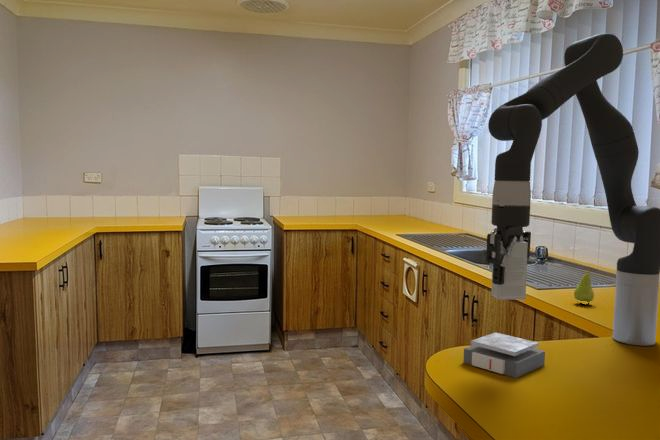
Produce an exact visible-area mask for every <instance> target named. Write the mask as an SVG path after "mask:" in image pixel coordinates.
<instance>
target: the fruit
mask: <svg viewBox="0 0 660 440" xmlns="http://www.w3.org/2000/svg"><path fill="white" fill-rule="evenodd" d="M592 270H593V268H592V267H591V268H590V269H589V270H588V272H587V273H584V275H583V276H582V277H581V278H580V281H579V283H578V285H576V287H575V290H574V292H573V296H574V299H575V300H576V299H577V300H580V301H587V302H590V301H592V302H593V300H594V297H595V292H594V290H593V288H592V282H591V278H590V274H591V272H592ZM577 300H576V301H577Z"/></svg>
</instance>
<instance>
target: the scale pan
mask: <svg viewBox="0 0 660 440" xmlns="http://www.w3.org/2000/svg"><path fill="white" fill-rule="evenodd" d="M470 345H471V346H473V345H475V346H479V347H483V348H486V349H490V350H494V351H498V352H501V353H505V354H509V355H512V356H516V355H519V354H521V353H524V352H526V351H529V350H531V349H534V348H535V349H537V348H539V342H537V341H533V340H530V339H529V340H528V339H524V338H521V337H516V336H512V335H508V334H503V333H501V332H497V331H495V332H493V333H489V334H487V335H484V336H480V337H478V338H474V339H472V340H470Z"/></svg>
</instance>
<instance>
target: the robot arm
mask: <svg viewBox="0 0 660 440" xmlns="http://www.w3.org/2000/svg"><path fill="white" fill-rule="evenodd" d="M623 58H624V49H623V45H622V42H621V40H620V38H618V37H617V35H615V34H614V33H611V32H602V33H599V34H598V33H597V34H595V35H592V36H589V37H586V38H583V39H579V40H577V41H575V42H572V43H571V44H569V45H568V46H567V47H566V48H565V51H564V56H563V59H564V60H563V61H564V67H562V68H560V69H558V70H557V71H554V72H552V73H551V74H549V75H547V76H545V77H543V78H542V79H541V80H539V81H538V82H536V84H534V85H533V86H532V87H530V88H529V89H528V90H527V91H526V92H525V93H523V94H521V95H518V96H516V97H514V98H513V99H510V100H509V101H507V102H505V103H503V104H501V105H499V106H498V107H496V108H495V110H493V112H492V113H491V115H490V117H489V120H488V124H487V125H488V128H487V129H488V132H489V133H490V135H491V136H492V138H493V139H495V140H497V141H503V142H507V141H509V142H510V141H512V142H511V145H510V148H509V149H508V150H506V151H503V152H501V153H499V154H497V155H496V157H495V161H494V181H493V186H492V187H493V188H492V197H491V198H492V199H491V220H490V221H491V222H490V223H491V225H492V226H495V227H496V232H495V233H488V234H487V235H486V263H487V264H491V266H492V265H493V283H494V284H498V285H502V284H504V273H505V267H503V266H504V265H505V262H506V259H507V258H508V257H510V254H511V252H512V249H513V246H514V245H515V243H516V241H519V242H522V241H524V242H527V243H528V248H527V260H529V259H530V256H531V255H530V254H531V253H530V252H531V239H532V233H531V231H527V230H524V228H527V227H529V226H530V224H531V223H530V222H531V221H530V220H531V219H530V216H531V198H532V197H531V194H532V193H531V192H532V191H531V175H532V174H531V168H532V160H533V157H534V155H535V151H536V147H537V144H538V141H539V138H540V135H541V132H542V126H543V120H545V119H547V118H549V117H550V116H551V115H552V114H553V113H555V111H556V110H558V109H559V108H561V106H563V105H564V104H565V103H566V102H568V101H569V100H570V99H572V97H573V96H576V99H577V101H578V104H579V106H580V109H581V113H582V115H583V118H584V122H585V125H586V129H587V132H588V135H589V139H590V140H589V141H590V144H591V147H592V151H593V153H594V157H595V161H596V163H597V166H598V170H599V173H600V177H601V181H602V185H603V188H604V189H603V190H604V194H605V198H606V205H607V210H608V216H609V223H610V227H611V230H612V233H613V234H614V237H616V238H617V239H618V240H619V241H622V242H624V243H629V244H630V243H631V244H633V248H632V252H631V253H630V254H629V255H626V256H622V257H619V258H618V259H617V262H616V275H615V291H614V292H615V293H614V310H613V322H612V323H613V324H612V326H613V328H612V339H613V340H615V341H616V342H620V343H623V344H628V345H634V346H641V347H643V346H644V347H645V346H646V347H647V346H654V345H655V344H656V341H657V340H656V336H657V326H658V325H657V324H658V310H659V309H658V308H659V307H658V306H659V292H660V291H659V290H660V207H656V206H646V205H645V206H644V205H637V203H636V201H635V197H634V194H633V188H632V180H633V176H634V173H635V169H636V166H637V163H638V159H639V153H640V152H639V146H638V143H637V142H638V141H637V139H636V135H635V132H634V128H633V126H632V124H631V122H630V121H629V119H628V118H627V117H626V116H625V115H623V113H622V112H620V111H619V110H618V108H616V107H615V106H614V105H612V103H611V102H610V101H608V100H607V98H606V97H605V96H604V94H603V92H602V90H601V89H600V86H599V84H598V80H600V79H601V78H603V77H605V76H607V75H609V74H611V73H613V72H615V71H616V70H617V69H618V68H619V67H620V66H621V64H622V61H623ZM502 242H503V247H504V248H505V249H506V251H501V243H502ZM493 253H494V255H493ZM500 256H502V258H501V260H500Z"/></svg>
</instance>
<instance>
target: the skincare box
mask: <svg viewBox="0 0 660 440" xmlns="http://www.w3.org/2000/svg"><path fill="white" fill-rule="evenodd" d="M527 248H528V243H527V242H525V241H522V242H519V241H516V243H515V245H514V246H513V249H512V252H511V254H510V257H508V258H507V259H506V262H505V265H504V266H503V267H505V273H504V284H502V285H498V284H494V283H493V265H491V266H492V267H491V289H490V290H491V294H490V295H491V297H493V298H495V299H496V300H518V301H519V300H522V301H523V300H526V297H527V293H526V292H527V271H528V270H527V267H528V259H527ZM501 251H506V249H505V248H504V247H503V242H502V243H501ZM493 255H494V253H493V252H492V256H493ZM501 258H502V256H500V260H501Z"/></svg>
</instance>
